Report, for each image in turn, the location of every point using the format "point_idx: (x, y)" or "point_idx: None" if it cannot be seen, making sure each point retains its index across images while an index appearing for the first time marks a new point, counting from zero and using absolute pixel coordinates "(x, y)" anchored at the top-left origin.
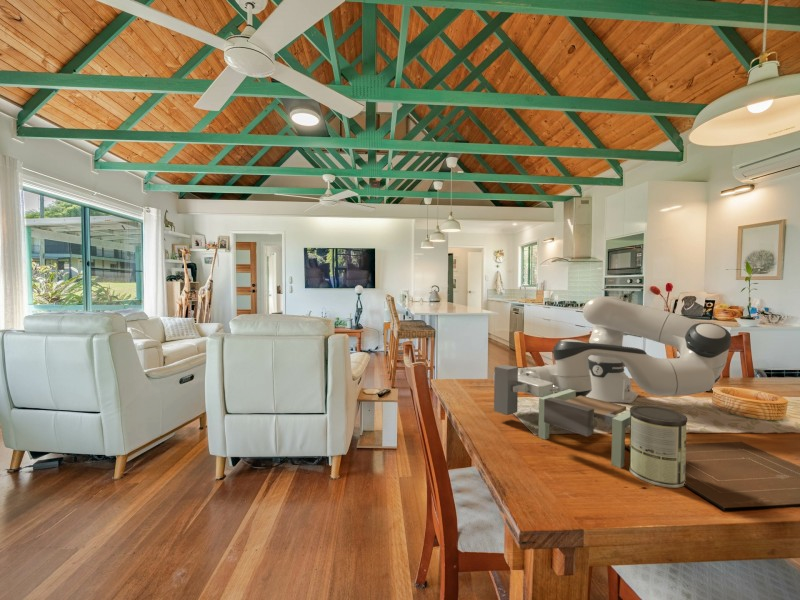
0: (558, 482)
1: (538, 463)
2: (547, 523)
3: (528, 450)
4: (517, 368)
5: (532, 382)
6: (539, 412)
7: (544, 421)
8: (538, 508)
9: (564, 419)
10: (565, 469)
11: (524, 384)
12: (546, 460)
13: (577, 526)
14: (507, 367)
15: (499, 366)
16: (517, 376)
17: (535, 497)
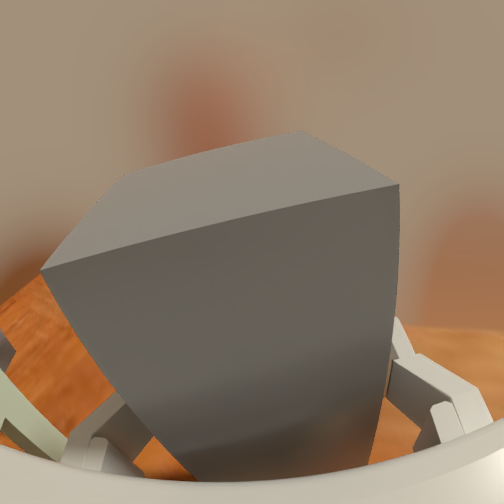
0: (27, 332)
1: (59, 349)
2: (37, 279)
3: (89, 374)
4: (54, 276)
5: (8, 485)
6: (35, 410)
7: (13, 349)
8: (45, 284)
9: None
10: (19, 369)
11: (87, 459)
12: (49, 369)
13: (15, 295)
14: (179, 178)
15: (287, 144)
16: (121, 386)
17: (50, 292)
